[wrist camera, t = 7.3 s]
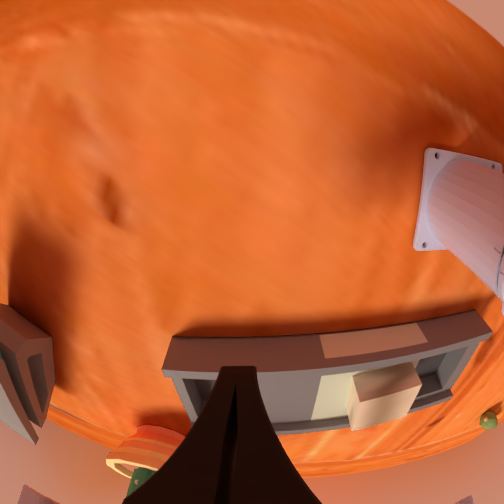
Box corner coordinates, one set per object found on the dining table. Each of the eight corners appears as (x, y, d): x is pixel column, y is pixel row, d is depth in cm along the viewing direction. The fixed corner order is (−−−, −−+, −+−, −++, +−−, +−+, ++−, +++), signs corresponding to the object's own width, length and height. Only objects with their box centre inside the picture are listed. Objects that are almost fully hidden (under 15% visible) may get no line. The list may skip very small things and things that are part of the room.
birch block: (410, 360, 21) (422, 384, 18) (397, 394, 23) (405, 415, 21) (352, 375, 21) (359, 402, 19) (346, 407, 24) (351, 431, 21)
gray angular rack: (4, 264, 20) (-55, 321, 11) (52, 299, 22) (-4, 372, 12) (23, 373, 30) (-3, 417, 21) (58, 396, 32) (35, 445, 22)
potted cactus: (212, 426, 31) (197, 588, 9) (210, 459, 38) (200, 574, 16) (107, 403, 30) (63, 546, 8) (128, 442, 37) (103, 550, 15)
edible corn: (498, 416, 33) (486, 431, 34) (502, 422, 39) (492, 434, 40) (486, 406, 38) (474, 420, 39) (492, 413, 44) (483, 425, 45)
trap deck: (474, 309, 22) (492, 331, 19) (438, 378, 28) (449, 399, 24) (172, 336, 23) (161, 369, 20) (196, 405, 29) (192, 433, 25)
